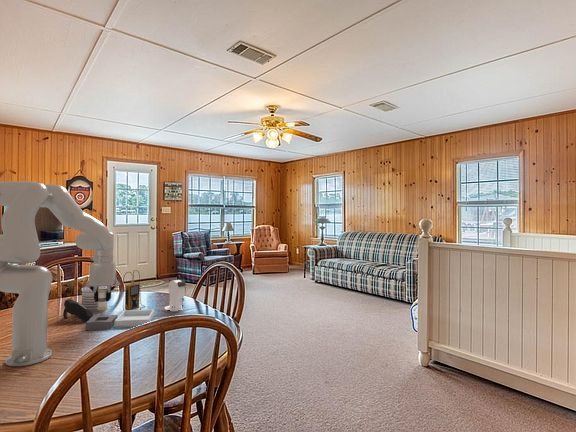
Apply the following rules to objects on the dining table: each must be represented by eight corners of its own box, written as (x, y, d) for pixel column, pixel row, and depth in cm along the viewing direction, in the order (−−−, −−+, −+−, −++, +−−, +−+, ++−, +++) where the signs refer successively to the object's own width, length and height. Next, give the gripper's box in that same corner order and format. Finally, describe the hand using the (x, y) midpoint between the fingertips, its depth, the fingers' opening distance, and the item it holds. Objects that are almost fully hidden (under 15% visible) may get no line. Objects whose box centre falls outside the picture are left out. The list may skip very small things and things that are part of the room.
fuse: (105, 310, 148) (106, 289, 148) (95, 310, 147) (96, 290, 147) (108, 307, 152) (109, 287, 152) (98, 308, 151) (99, 288, 151)
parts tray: (148, 326, 150) (148, 319, 150) (114, 327, 147) (114, 320, 147) (154, 315, 165) (154, 309, 165) (123, 316, 162) (123, 310, 162)
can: (111, 308, 176) (111, 285, 176) (97, 314, 165) (97, 290, 165) (90, 307, 177) (91, 284, 177) (75, 313, 166) (75, 289, 166)
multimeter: (134, 314, 166) (135, 274, 166) (118, 312, 170) (119, 272, 170) (155, 307, 180) (156, 269, 180) (140, 305, 183) (141, 268, 183)
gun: (83, 333, 154) (92, 315, 153) (57, 315, 157) (65, 296, 156) (88, 331, 157) (97, 313, 156) (62, 313, 159) (70, 295, 158)
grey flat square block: (111, 328, 145) (111, 321, 145) (85, 329, 143) (85, 322, 143) (117, 321, 155) (117, 314, 155) (93, 322, 153) (93, 315, 153)
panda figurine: (191, 308, 179) (192, 280, 179) (171, 312, 171) (172, 283, 171) (180, 304, 187) (180, 277, 187) (160, 307, 179) (161, 279, 179)
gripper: (79, 260, 144) (78, 303, 144) (121, 260, 147) (120, 302, 147) (85, 258, 151) (84, 299, 151) (126, 258, 155) (124, 298, 155)
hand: (102, 300), depth 149 cm, fingers closed on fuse, 3 cm apart
